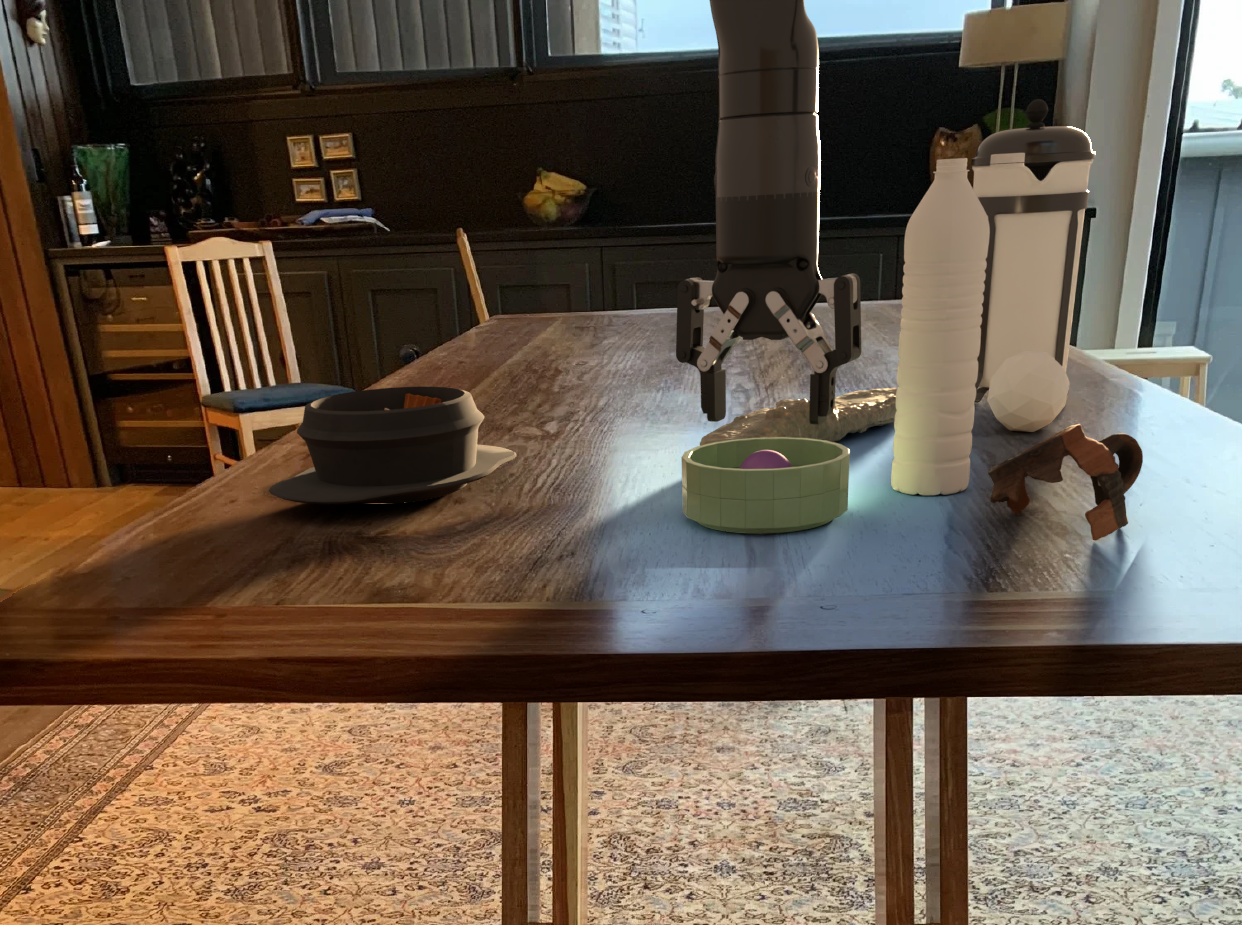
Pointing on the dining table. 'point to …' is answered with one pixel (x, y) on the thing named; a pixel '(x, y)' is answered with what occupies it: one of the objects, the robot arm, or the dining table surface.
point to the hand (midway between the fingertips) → (766, 421)
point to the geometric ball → (1028, 391)
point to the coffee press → (1031, 240)
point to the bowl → (765, 485)
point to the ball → (765, 460)
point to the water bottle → (941, 332)
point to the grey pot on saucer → (391, 447)
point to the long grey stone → (794, 421)
